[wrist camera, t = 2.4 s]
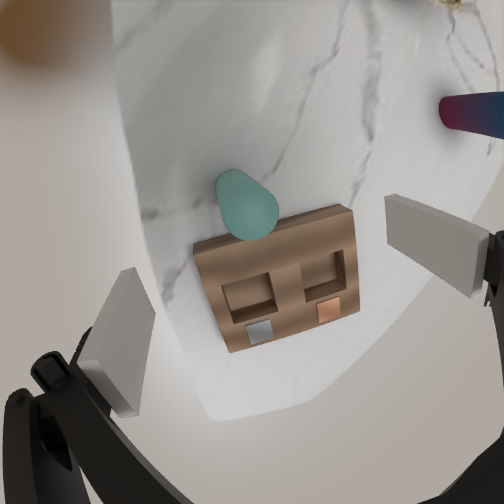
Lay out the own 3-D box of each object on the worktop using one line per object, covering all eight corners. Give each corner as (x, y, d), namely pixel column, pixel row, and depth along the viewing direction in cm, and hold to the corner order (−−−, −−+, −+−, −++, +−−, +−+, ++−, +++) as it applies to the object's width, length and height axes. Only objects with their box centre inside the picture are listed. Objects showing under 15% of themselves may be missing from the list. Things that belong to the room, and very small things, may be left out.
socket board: (193, 243, 33) (193, 256, 29) (339, 203, 34) (353, 211, 31) (226, 336, 38) (229, 354, 35) (348, 298, 40) (361, 312, 36)
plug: (211, 175, 30) (216, 194, 19) (246, 165, 31) (272, 179, 20) (220, 209, 32) (231, 246, 21) (255, 200, 32) (283, 232, 21)
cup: (461, 138, 33) (536, 152, 20) (433, 128, 32) (517, 137, 18) (462, 99, 31) (537, 103, 17) (435, 85, 30) (515, 81, 16)
